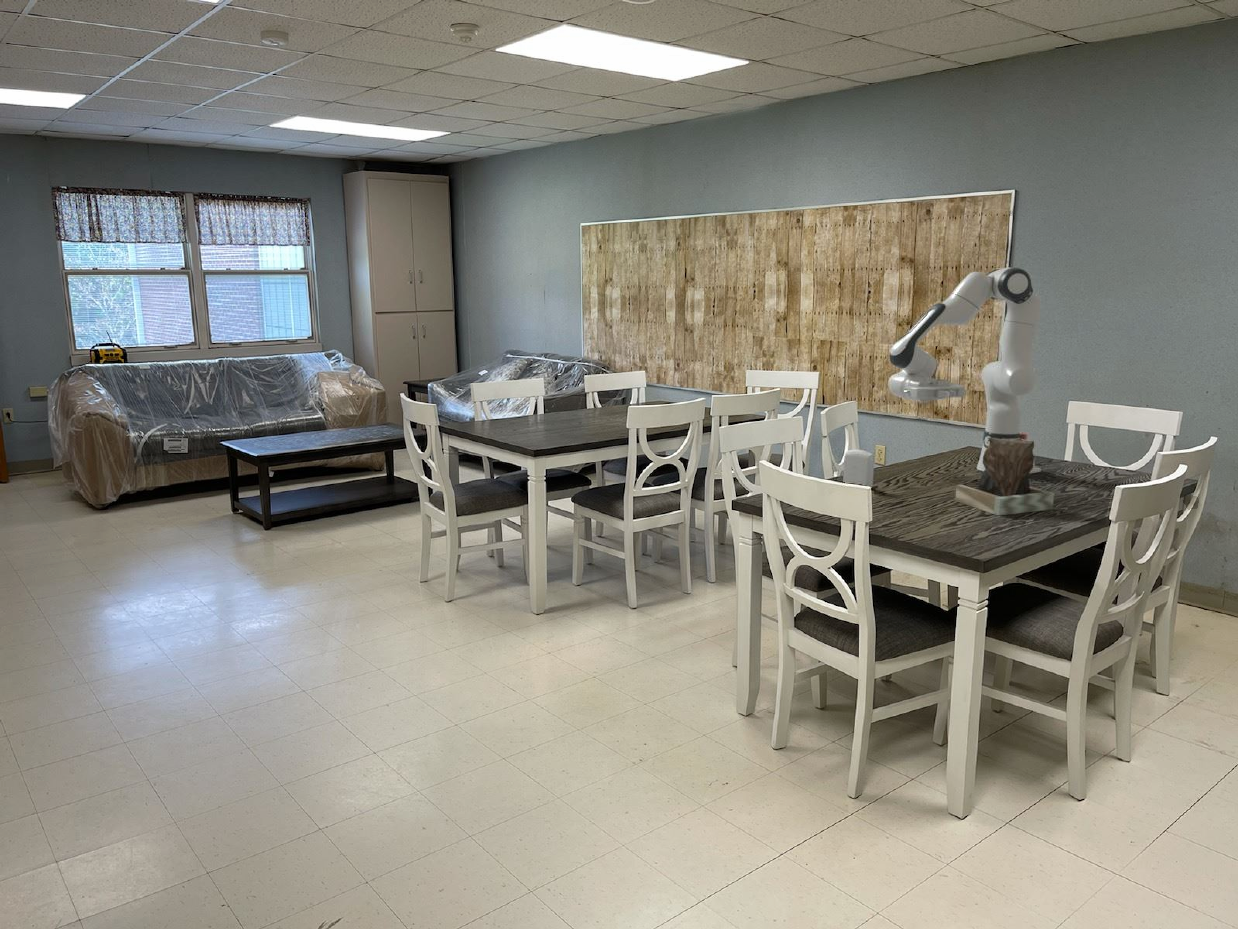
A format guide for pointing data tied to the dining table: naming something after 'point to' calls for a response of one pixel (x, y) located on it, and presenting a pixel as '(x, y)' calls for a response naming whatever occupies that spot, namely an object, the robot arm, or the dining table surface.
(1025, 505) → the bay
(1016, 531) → the dining table surface
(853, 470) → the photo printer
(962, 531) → the dining table surface
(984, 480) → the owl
